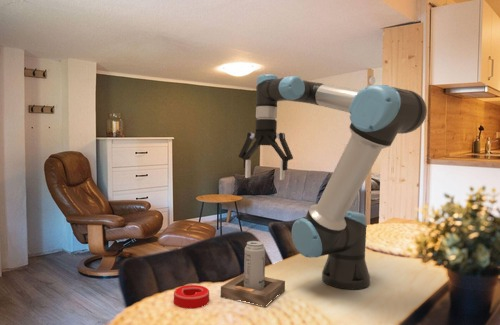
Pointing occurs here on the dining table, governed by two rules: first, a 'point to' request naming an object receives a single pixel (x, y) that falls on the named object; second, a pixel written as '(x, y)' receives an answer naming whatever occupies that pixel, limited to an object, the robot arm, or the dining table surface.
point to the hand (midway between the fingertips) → (264, 178)
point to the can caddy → (263, 297)
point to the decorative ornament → (191, 296)
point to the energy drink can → (254, 265)
